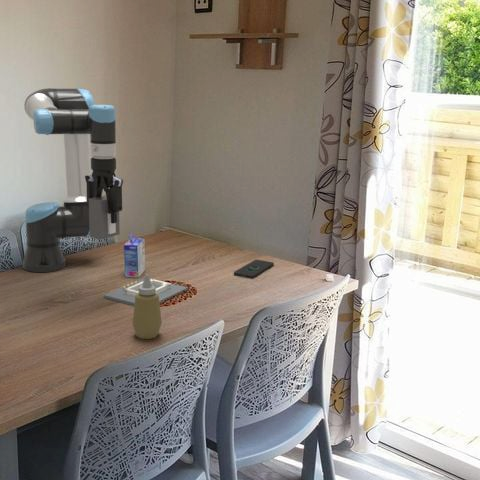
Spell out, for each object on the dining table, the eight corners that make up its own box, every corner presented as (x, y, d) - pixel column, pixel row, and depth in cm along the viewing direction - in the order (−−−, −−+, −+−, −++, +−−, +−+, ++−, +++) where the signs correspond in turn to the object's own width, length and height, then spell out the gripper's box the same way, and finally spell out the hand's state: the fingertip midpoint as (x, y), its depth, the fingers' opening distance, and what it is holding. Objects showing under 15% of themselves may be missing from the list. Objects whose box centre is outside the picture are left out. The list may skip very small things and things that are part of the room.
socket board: (103, 297, 207) (103, 290, 206) (145, 280, 226) (145, 273, 225) (148, 309, 198) (148, 302, 198) (187, 290, 217) (188, 283, 216)
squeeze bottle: (133, 329, 183) (133, 269, 178) (162, 329, 184) (162, 270, 179) (131, 341, 175) (130, 279, 170) (161, 341, 176) (161, 279, 171)
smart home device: (232, 271, 234) (255, 258, 252) (232, 276, 235) (255, 263, 252) (253, 275, 231) (274, 262, 248) (252, 280, 231) (274, 266, 249)
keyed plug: (89, 236, 197) (88, 198, 194) (110, 231, 205) (109, 194, 202) (101, 239, 195) (100, 200, 192) (122, 233, 202) (121, 196, 199)
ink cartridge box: (131, 269, 238) (130, 231, 234) (145, 269, 237) (145, 232, 233) (123, 277, 228) (123, 238, 224) (138, 278, 228) (138, 239, 224)
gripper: (72, 155, 194) (75, 229, 200) (117, 161, 185) (118, 238, 191) (90, 153, 201) (92, 225, 207) (134, 158, 192) (135, 233, 198)
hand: (104, 231), depth 199 cm, fingers closed on keyed plug, 5 cm apart
